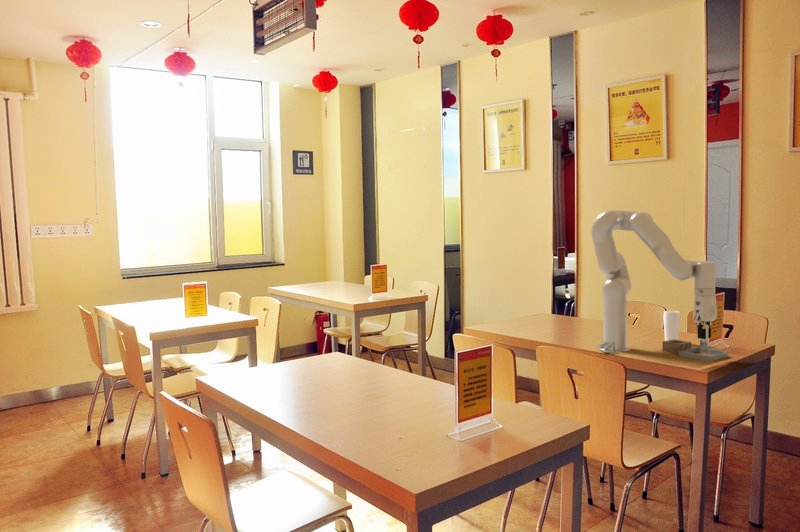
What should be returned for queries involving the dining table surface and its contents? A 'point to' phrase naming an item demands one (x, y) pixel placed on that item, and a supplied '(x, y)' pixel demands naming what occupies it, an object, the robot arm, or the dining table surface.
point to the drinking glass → (671, 324)
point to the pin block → (675, 346)
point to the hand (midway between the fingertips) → (704, 337)
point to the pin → (704, 341)
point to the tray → (691, 354)
